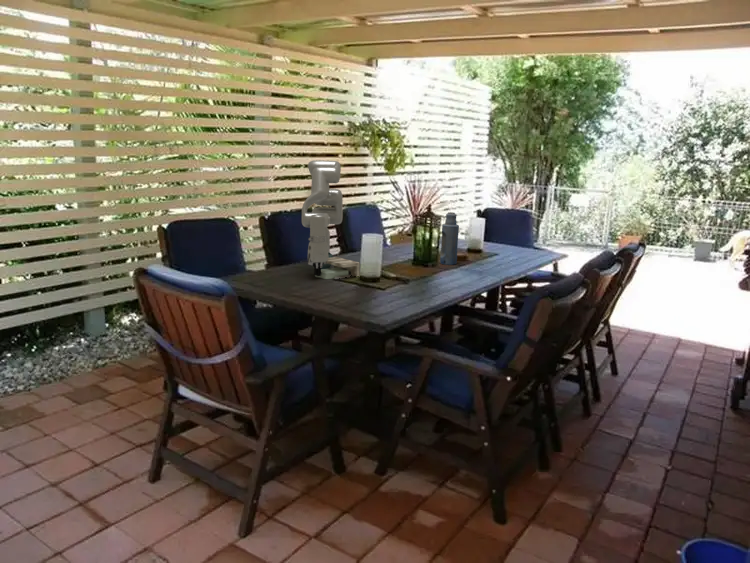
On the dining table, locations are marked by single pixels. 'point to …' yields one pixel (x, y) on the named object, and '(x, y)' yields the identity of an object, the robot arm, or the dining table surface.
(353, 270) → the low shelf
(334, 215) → the robot arm
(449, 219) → the bottle
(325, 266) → the flower pot
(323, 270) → the pale green flat block
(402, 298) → the dining table surface
